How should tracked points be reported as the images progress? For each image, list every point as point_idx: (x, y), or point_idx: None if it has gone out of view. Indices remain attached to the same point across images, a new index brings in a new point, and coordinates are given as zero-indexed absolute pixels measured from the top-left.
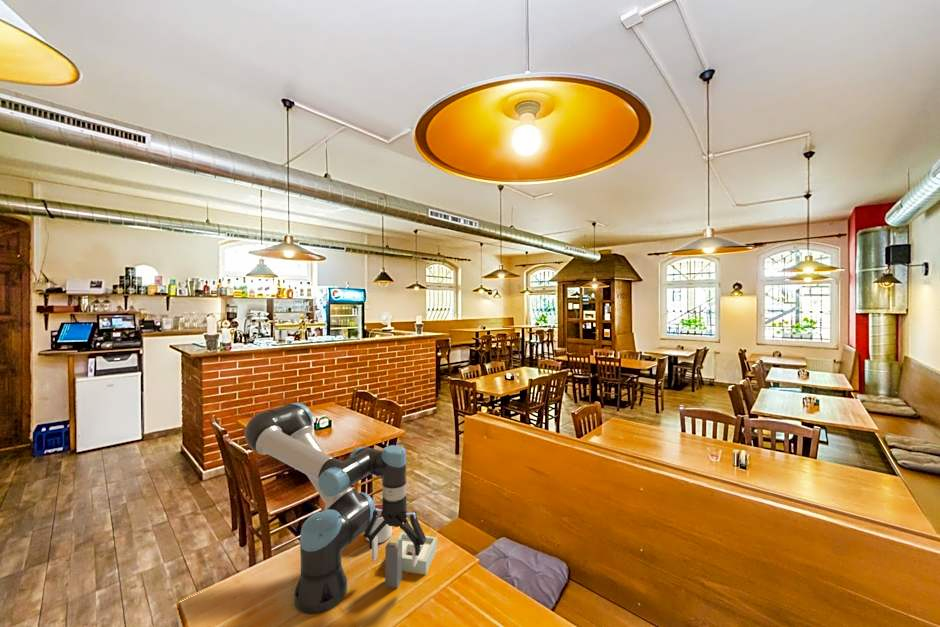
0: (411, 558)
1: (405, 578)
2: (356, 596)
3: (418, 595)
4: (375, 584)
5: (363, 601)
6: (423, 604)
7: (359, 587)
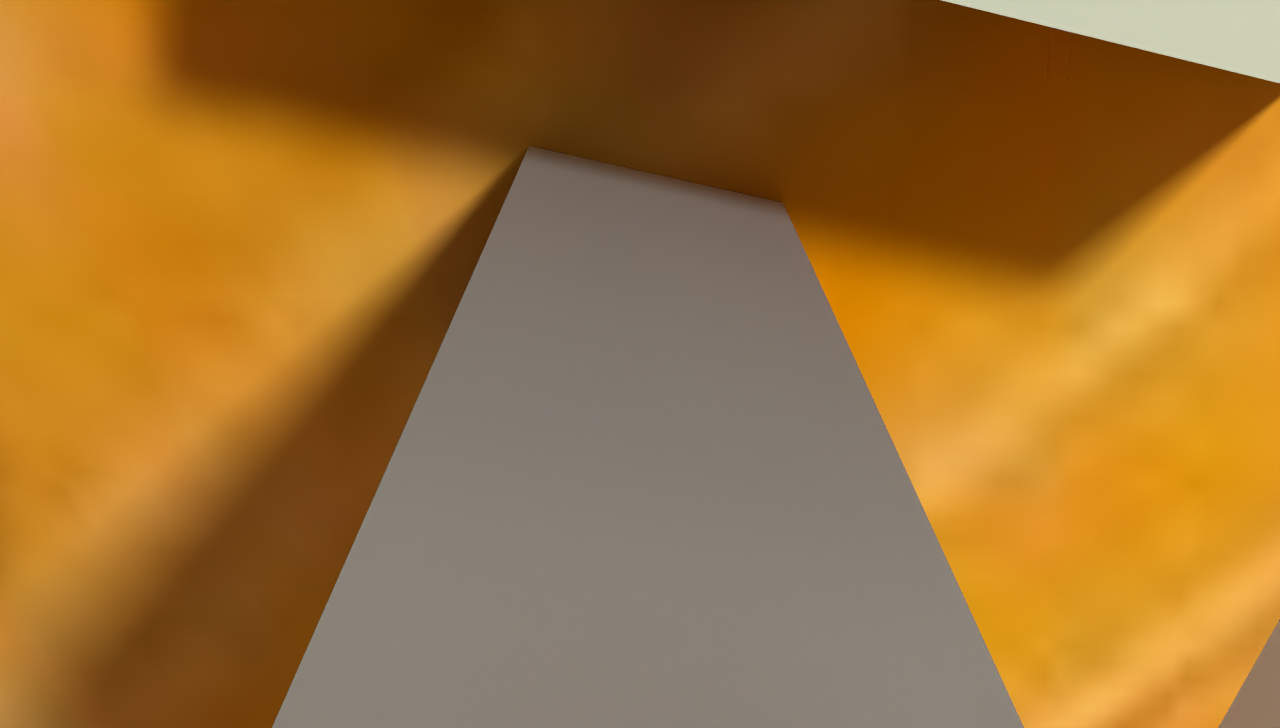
0: (1104, 1)
1: (852, 179)
2: (55, 575)
3: (1098, 567)
4: (279, 330)
5: (217, 661)
6: (1164, 716)
7: (6, 396)
